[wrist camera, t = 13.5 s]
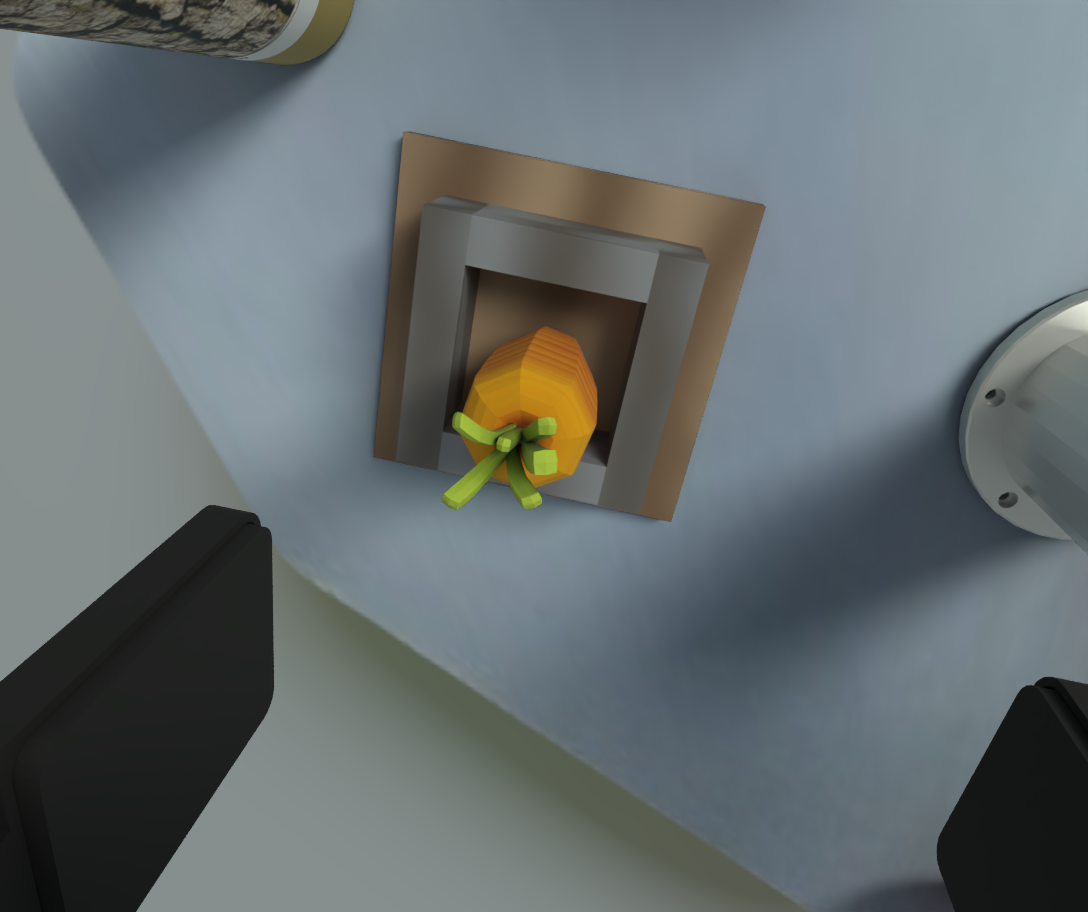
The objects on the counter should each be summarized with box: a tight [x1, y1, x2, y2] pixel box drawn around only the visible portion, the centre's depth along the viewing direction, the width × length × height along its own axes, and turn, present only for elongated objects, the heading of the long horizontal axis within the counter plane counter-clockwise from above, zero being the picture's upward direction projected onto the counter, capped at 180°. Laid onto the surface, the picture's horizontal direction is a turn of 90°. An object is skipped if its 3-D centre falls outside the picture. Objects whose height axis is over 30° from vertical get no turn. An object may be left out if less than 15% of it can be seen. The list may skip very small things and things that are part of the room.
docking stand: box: [374, 132, 765, 522], centre depth 34 cm, size 16×16×5 cm
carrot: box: [442, 326, 597, 511], centre depth 29 cm, size 5×5×15 cm
